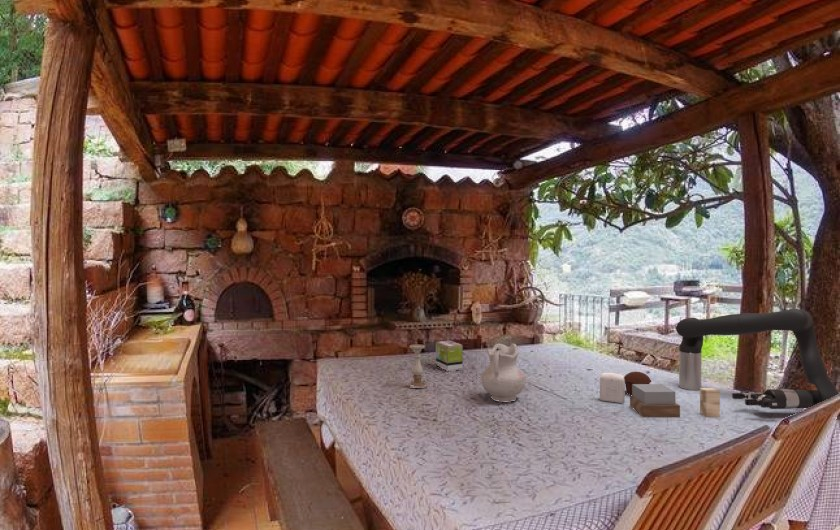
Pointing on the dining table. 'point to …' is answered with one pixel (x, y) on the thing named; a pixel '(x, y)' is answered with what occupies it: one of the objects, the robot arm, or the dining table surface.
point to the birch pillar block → (710, 402)
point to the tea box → (449, 355)
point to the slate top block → (653, 394)
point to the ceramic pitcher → (503, 373)
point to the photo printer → (612, 387)
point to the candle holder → (417, 365)
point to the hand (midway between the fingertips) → (739, 399)
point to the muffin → (635, 380)
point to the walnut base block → (655, 409)
